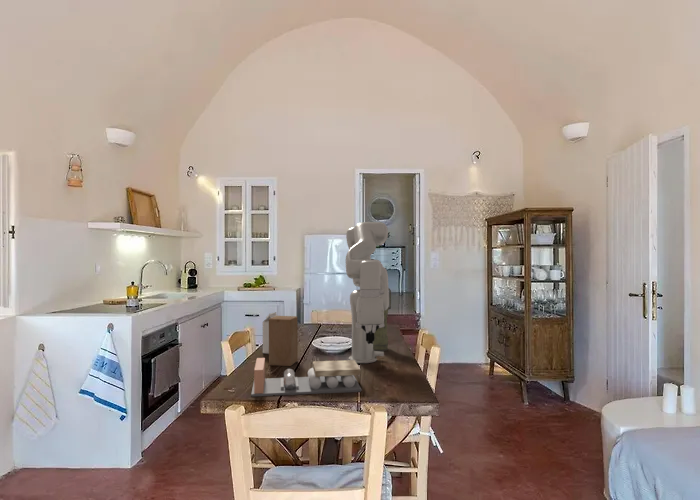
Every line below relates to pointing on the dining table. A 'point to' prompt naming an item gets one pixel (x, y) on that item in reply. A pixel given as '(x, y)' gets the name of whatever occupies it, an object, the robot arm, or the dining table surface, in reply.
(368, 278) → the robot arm
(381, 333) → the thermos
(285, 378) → the roller
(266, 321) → the milk carton
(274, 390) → the roller bed
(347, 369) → the slab
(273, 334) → the wooden block
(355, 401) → the dining table surface
